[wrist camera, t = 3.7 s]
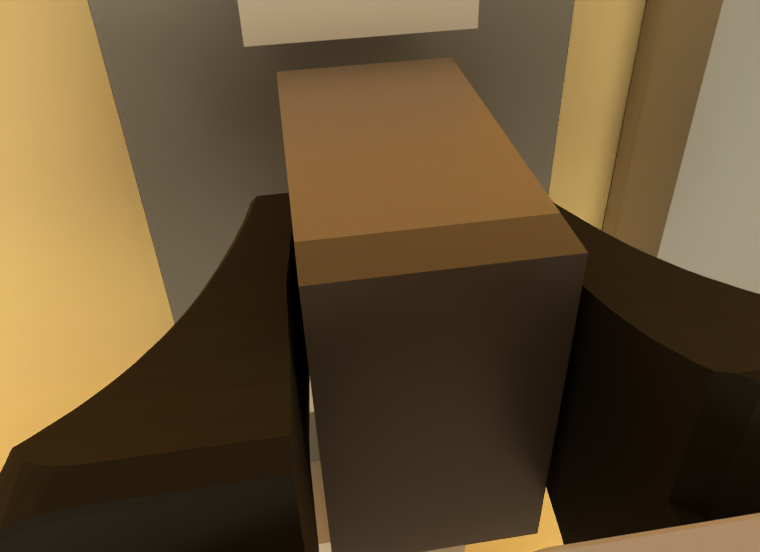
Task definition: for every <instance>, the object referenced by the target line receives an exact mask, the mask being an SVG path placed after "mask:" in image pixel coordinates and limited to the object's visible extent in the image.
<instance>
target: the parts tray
mask: <svg viewBox="0 0 760 552" xmlns="http://www.w3.org/2000/svg"><path fill="white" fill-rule="evenodd" d="M602 231H603V232H605V233H607V234H609V235H611V236H613V237H615V238H617V239H618V240H620V241H622V242H624V243H626V244H628V245H630V246H632V247H634V248H636V249H639V250H641V251H643V252H645V253H647V254H650V255H652V256H654V257H657V258H659V259H661V260H664V261H666V262H669V263H671V264H673V265H676V266H678V267H680V268H683V269H686V270H688V271H691V272H694V273H696V274H699V275H702V276H705V277H708V278H711V279H714V280H717V281H720V282H723V283H726V284H729V285H732V286H735V287H738V288H741V289H744V290H748V291H751V292H755V293H758V294H760V0H647V3H646V8H645V14H644V19H643V24H642V29H641V34H640V39H639V44H638V49H637V55H636V60H635V65H634V70H633V75H632V80H631V85H630V91H629V96H628V101H627V106H626V111H625V116H624V121H623V127H622V132H621V137H620V142H619V147H618V152H617V157H616V163H615V168H614V173H613V178H612V183H611V188H610V193H609V199H608V204H607V209H606V214H605V219H604V224H603V229H602Z"/></svg>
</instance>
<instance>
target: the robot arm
mask: <svg viewBox="0 0 760 552" xmlns="http://www.w3.org/2000/svg"><path fill="white" fill-rule="evenodd" d="M553 203H554V202H553ZM554 204H555V203H554ZM555 206H556V207H557V209H558V210H559V212H560V213H561V214H562V216H563V217H564V219H565V220H566V222H567V223H568V224H569V226H570V227H571V229H572V230H573V232H574V233H575V234H576V236H577V237H578V239H579V240H580V242H581V243H582V244H583V246H584V247H585V249H586V250H587V252H588V257H587V262H586V268H585V273H584V279H583V284H582V290H581V295H580V301H579V306H578V312H577V317H576V323H575V328H574V334H573V339H572V345H571V350H570V356H569V361H568V367H567V372H566V378H565V383H564V389H563V394H562V400H561V405H560V411H559V416H558V422H557V427H556V433H555V438H554V444H553V449H552V455H551V460H550V466H549V471H548V477H547V482H546V488H547V491H548V494H549V497H550V500H551V504H552V507H553V510H554V513H555V516H556V520H557V523H558V526H559V529H560V533H561V536H562V539H563V543H564V545H560V546H554V547H548V548H544V549H541V550H538V551H534V552H760V294H758V293H755V292H751V291H748V290H744V289H741V288H738V287H735V286H732V285H729V284H726V283H723V282H720V281H717V280H714V279H711V278H708V277H705V276H702V275H699V274H696V273H694V272H691V271H688V270H686V269H683V268H680V267H678V266H676V265H673V264H671V263H669V262H666V261H664V260H661V259H659V258H657V257H654V256H652V255H650V254H647V253H645V252H643V251H641V250H639V249H636V248H634V247H632V246H630V245H628V244H626V243H624V242H622V241H620V240H618V239H617V238H615V237H613V236H611V235H609V234H607V233H605V232H603V231H601V230H599V229H598V228H596V227H594V226H592V225H590V224H589V223H587V222H585V221H583V220H582V219H580V218H578V217H577V216H575V215H573V214H572V213H570V212H568V211H567V210H565V209H563V208H562V207H560V206H558V205H557V204H555ZM309 430H310V374H309V366H308V358H307V350H306V342H305V333H304V325H303V317H302V309H301V301H300V293H299V285H298V275H297V266H296V256H295V246H294V237H293V227H292V217H291V208H290V198H289V193H282V194H272V195H262V196H256V197H255V198H254V199H253V201H252V202H251V203H250V206H249V209H248V211H247V214H246V216H245V219H244V221H243V223H242V225H241V227H240V229H239V231H238V233H237V235H236V237H235V239H234V241H233V242H232V244H231V246H230V248H229V249H228V251H227V253H226V255H225V256H224V258H223V260H222V262H221V263H220V265H219V266H218V268H217V269H216V271H215V272H214V274H213V275H212V277H211V278H210V280H209V281H208V282H207V284H206V285H205V287H204V288H203V290H202V291H201V293H200V294H199V295H198V297H197V298H196V299H195V301H194V302H193V303H192V304H191V306H190V307H189V308H188V309H187V311H186V312H185V313H184V314H183V315H182V317H181V318H180V319H179V320H178V321H177V322H176V323H175V324H174V326H173V327H172V328H171V329H170V330H169V331H168V332H167V333H166V334H165V335H164V336H163V337H162V338H161V339H160V340H159V341H158V342H157V343H156V344H155V345H154V346H153V347H152V348H151V349H150V350H149V351H148V352H146V353H145V354H144V355H143V356H142V357H141V358H140V359H139V360H138V361H137V362H136V363H135V364H134V365H132V366H131V367H130V368H129V369H128V370H126V371H125V372H124V373H123V374H121V375H120V376H119V377H118V378H116V379H115V380H114V381H113V382H111V383H110V384H109V385H108V386H106V387H105V388H103V389H102V390H101V391H99V392H98V393H97V394H95V395H94V396H93V397H91V398H90V399H89V400H87V401H86V402H84V403H83V404H82V405H80V406H79V407H77V408H76V409H74V410H73V411H71V412H70V413H68V414H67V415H65V416H63V417H62V418H60V419H59V420H57V421H56V422H54V423H52V424H51V425H49V426H48V427H46V428H44V429H43V430H41V431H40V432H38V433H37V434H35V435H33V436H32V437H30V438H29V439H27V440H25V441H24V442H22V443H20V444H18V445H17V446H15V447H13V448H12V450H11V451H10V454H9V456H8V458H7V460H6V463H5V465H4V467H3V469H2V470H1V472H0V552H319V544H318V534H317V524H316V515H315V505H314V495H313V485H312V475H311V464H310V442H309Z"/></svg>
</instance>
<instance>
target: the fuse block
mask: <svg viewBox="0 0 760 552" xmlns="http://www.w3.org/2000/svg"><path fill="white" fill-rule="evenodd" d="M574 1H575V0H88V4H89V8H90V11H91V15H92V19H93V22H94V26H95V30H96V34H97V37H98V41H99V45H100V48H101V52H102V56H103V60H104V63H105V67H106V71H107V74H108V78H109V82H110V85H111V89H112V93H113V97H114V100H115V104H116V108H117V111H118V115H119V119H120V122H121V126H122V130H123V134H124V137H125V141H126V145H127V148H128V152H129V156H130V160H131V163H132V167H133V171H134V174H135V178H136V182H137V185H138V189H139V193H140V197H141V200H142V204H143V208H144V211H145V215H146V219H147V222H148V226H149V230H150V234H151V237H152V241H153V245H154V248H155V252H156V256H157V260H158V263H159V267H160V271H161V274H162V278H163V282H164V285H165V289H166V293H167V297H168V300H169V304H170V308H171V311H172V315H173V319H174V322H175V323H176V322H177V321H178V320H179V319H180V318H181V317H182V315H183V314H184V313H185V312H186V311H187V309H188V308H189V307H190V306H191V304H192V303H193V302H194V301H195V299H196V298H197V297H198V295H199V294H200V293H201V291H202V290H203V288H204V287H205V285H206V284H207V282H208V281H209V280H210V278H211V277H212V275H213V274H214V272H215V271H216V269H217V268H218V266H219V265H220V263H221V262H222V260H223V258H224V256H225V255H226V253H227V251H228V249H229V248H230V246H231V244H232V242H233V241H234V239H235V237H236V235H237V233H238V231H239V229H240V227H241V225H242V223H243V221H244V219H245V216H246V214H247V211H248V209H249V206H250V203H251V202H252V201H253V199H254V198H255V197H256V196H262V195H272V194H282V193H289V189H288V179H287V169H286V160H285V150H284V140H283V131H282V121H281V112H280V102H279V92H278V83H277V73H276V72H278V71H290V70H302V69H314V68H326V67H338V66H350V65H362V64H374V63H386V62H398V61H410V60H422V59H434V58H446V57H452V58H453V60H454V61H455V63H456V64H457V66H458V67H459V68H460V70H461V71H462V73H463V74H464V76H465V77H466V78H467V80H468V81H469V83H470V84H471V86H472V87H473V88H474V90H475V91H476V93H477V94H478V96H479V97H480V98H481V100H482V101H483V103H484V104H485V106H486V107H487V108H488V110H489V111H490V113H491V114H492V116H493V117H494V119H495V120H496V121H497V123H498V124H499V126H500V127H501V129H502V130H503V131H504V133H505V134H506V136H507V137H508V139H509V140H510V141H511V143H512V144H513V146H514V147H515V149H516V150H517V151H518V153H519V154H520V156H521V157H522V159H523V160H524V161H525V163H526V164H527V166H528V167H529V169H530V170H531V171H532V173H533V174H534V176H535V177H536V179H537V180H538V181H539V183H540V184H541V186H542V187H543V189H544V190H545V191H546V193H547V194H549V187H550V180H551V172H552V165H553V157H554V150H555V142H556V135H557V127H558V120H559V113H560V105H561V98H562V90H563V83H564V75H565V68H566V60H567V53H568V46H569V38H570V31H571V23H572V16H573V8H574ZM309 442H310V464H311V475H312V485H313V495H314V505H315V515H316V524H317V534H318V544H319V552H332V551H331V543H330V535H329V527H328V519H327V511H326V503H325V495H324V487H323V478H322V470H321V462H320V454H319V446H318V438H317V430H316V422H315V414H314V406H313V398H312V390H311V382H310V430H309Z"/></svg>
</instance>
